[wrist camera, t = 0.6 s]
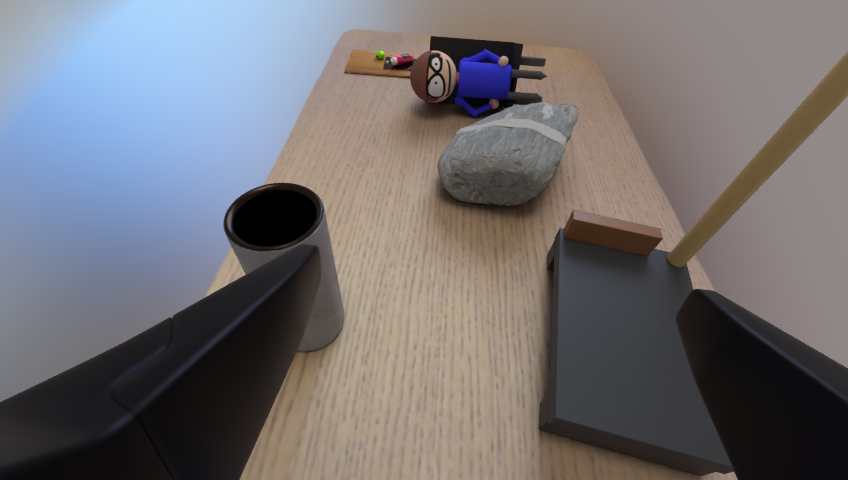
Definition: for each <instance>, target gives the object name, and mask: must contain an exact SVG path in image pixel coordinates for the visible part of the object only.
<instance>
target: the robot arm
mask: <svg viewBox="0 0 848 480" xmlns="http://www.w3.org/2000/svg"><path fill="white" fill-rule="evenodd" d="M321 274H322V272H321V259H320V250H319V247H318V246H317V245H310V244H300V245H298V246H296V247H294V248H293V249H291V250H289V251H287V252H286V253H284V254H282V255H280V256H278V257H277V258H275V259H273V260H271V261H269V262H268V263H266V264H264V265H262V266H261V267H259V268H257V269H255V270H253V271H252V272H250V273H248V274H246V275H245V276H243V277H241V278H239V279H237V280H236V281H234V282H232V283H230V284H228V285H227V286H225V287H223V288H221V289H220V290H218V291H216V292H214V293H212V294H211V295H209V296H207V297H205V298H204V299H202V300H200V301H198V302H196V303H195V304H193V305H191V306H189V307H187V308H186V309H184V310H182V311H180V312H179V313H177V314H175V315H174V316H173V318H168V319H166V320H164V321H162V322H161V323H159V324H157V325H155V326H153V327H152V328H150V329H148V330H146V331H144V332H142V333H140V334H139V335H137V336H135V337H133V338H131V339H129V340H127V341H126V342H124V343H122V344H120V345H118V346H116V347H114V348H112V349H110V350H108V351H106V352H104V353H102V354H100V355H98V356H96V357H94V358H92V359H90V360H87V361H85V362H83V363H81V364H79V365H77V366H75V367H73V368H71V369H69V370H67V371H65V372H62V373H60V374H58V375H56V376H54V377H52V378H50V379H48V380H46V381H44V382H42V383H39V384H38V385H35V386H33V387H31V388H29V389H27V390H25V391H23V392H21V393H19V394H17V395H14V396H12V397H10V398H8V399H6V400H4V401H2V402H0V480H239V479H240V477H241V475H242V472H243V470H244V468H245V466H246V463H247V461H248V459H249V457H250V455H251V452H252V450H253V448H254V446H255V443H256V441H257V439H258V437H259V434H260V432H261V430H262V428H263V426H264V423H265V421H266V419H267V417H268V414H269V412H270V410H271V408H272V405H273V403H274V401H275V399H276V396H277V394H278V392H279V390H280V388H281V385H282V383H283V381H284V379H285V376H286V374H287V372H288V370H289V367H290V365H291V363H292V361H293V359H294V356H295V354H296V352H297V350H298V347H299V345H300V343H301V340H302V338H303V336H304V333H305V330H306V327H307V324H308V320H309V317H310V314H311V311H312V307H313V304H314V301H315V298H316V294H317V291H318V288H319V285H320V281H321ZM676 324H677V328H678V331H679V334H680V337H681V340H682V343H683V346H684V350H685V353H686V356H687V359H688V362H689V365H690V368H691V372H692V374H693V377H694V380H695V383H696V385H697V388H698V390H699V392H700V395H701V397H702V399H703V402H704V404H705V406H706V408H707V411H708V413H709V415H710V417H711V420H712V422H713V424H714V427H715V429H716V431H717V433H718V436H719V438H720V440H721V443H722V445H723V447H724V449H725V452H726V454H727V456H728V459H729V461H730V463H731V465H732V468H733V470H734V472H735V474H736V477H737V479H738V480H848V368H846V367H844V366H843V365H841V364H839V363H837V362H836V361H834V360H832V359H831V358H829V357H827V356H825V355H824V354H822V353H820V352H818V351H817V350H815V349H813V348H811V347H810V346H808V345H806V344H805V343H803V342H801V341H800V340H798V339H796V338H794V337H793V336H791V335H789V334H787V333H786V332H784V331H782V330H781V329H779V328H777V327H775V326H774V325H772V324H770V323H768V322H767V321H765V320H763V319H761V318H760V317H758V316H756V315H755V314H753V313H751V312H750V311H748V310H746V309H744V308H743V307H741V306H739V305H737V304H736V303H734V302H732V301H731V300H729V299H727V298H725V297H724V296H722V295H720V294H718V293H717V292H715V291H711V290H702V289H695V290H693V291H691V292H690V293H689V295H688V297H687V298H686V300H685V301H684V303H683V304H682V306H681V308H680V309H679V311H678V313H677V315H676Z"/></svg>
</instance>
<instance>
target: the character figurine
mask: <svg viewBox="0 0 848 480" xmlns="http://www.w3.org/2000/svg"><path fill="white" fill-rule="evenodd" d="M522 49H523V44H518V43H513V42H500V41H487V40H474V39H461V38H448V37H435V36H431V41H430V51H428V52H425V53H423V54H422V55H420V56H419V57H418V58H417V59H416V61H415V62H414V64H413V66H412V69H411V74H410V80H411V85H412V88H413V90H414V92H415V93H416V95H417V96H418V97H419V98H421V99H422V100H424V101H427V102H431V103H436V102H453V103H456V105H461V106H462V107H464V108H465V109H466V110H467V111H468V112H469V113H470V114H471V115H472V116H473V117H475V116H477V115H479V114H481V113H483V112H485V111H487V110H489V109H491V108H493V109H495V108H497V107H498V106H503V107H504V108H508V107H512V106H513V104H517V105H528V104H531V103H541V101H542V97H541V96H539V95H538V94H537V93H535V94H534V93H520V92H515V89H516V83H517V78H527V79H539V80H541V79H543V78H545V77H547V76H546V75H545V74H543V73H542V72H541V71H527V70H519V66H520V65H528V66H545V61H546V59H544V58H537V57H525V56H521V54H522ZM469 104H481V105H483V106H481V107H479V108H477V109H474V108H473V107H472V106H471V105H469Z"/></svg>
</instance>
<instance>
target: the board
mask: <svg viewBox="0 0 848 480" xmlns="http://www.w3.org/2000/svg"><path fill="white" fill-rule="evenodd" d="M419 56H420V55H411V54H395V53H384V51H378V52H370V51H358V50H353V51H352V53H351V56H350V58H349V61H348V64H347V66H346V69H345V73H356V74H369V75H381V76H394V77H407V78H410V74H411V69H412V66H413V64H414V62H415V61H416V59H417V58H418V57H419Z"/></svg>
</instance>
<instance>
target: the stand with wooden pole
mask: <svg viewBox="0 0 848 480" xmlns="http://www.w3.org/2000/svg"><path fill="white" fill-rule="evenodd" d="M847 96H848V51H847V52H846V54H845V55H844V56H843V57H842V58H841V59H840V60H839V62H838V63H837V64H836V65H835V66H834V67H833V68H832V70H831V71H830V72H829V73H828V74H827V75H826V76H825V77H824V79H823V80H822V81H821V82H820V83H819V84H818V86H817V87H816V88H815V89H814V90H813V91H812V93H810V94H809V96H808V97H807V98H806V99H805V100H804V101H803V102H802V104H801V105H800V106H799V107H798V108H797V109H796V111H794V113H793V114H792V115H791V116H790V117H789V118H788V119H787V121H786V122H785V123H784V124H783V125H782V126H781V128H780V129H779V130H778V131H777V132H776V133H775V134H774V135H773V136H772V138H771V139H770V140H769V141H768V142H767V143H766V144H765V146H764V147H763V148H762V149H761V150H760V151H759V152H758V154H757V155H756V156H755V157H754V158H753V159H752V160H751V162H750V163H749V164H748V165H747V166H746V167H745V168H744V169H743V170H742V172H741V173H740V174H739V175H738V176H737V177H736V179H735V180H734V181H733V182H732V183H731V184H730V185H729V186H728V188H727V189H726V190H725V191H724V192H723V193H722V194H721V195H720V197H719V198H718V199H717V200H716V201H715V202H714V204H713V205H712V206H711V207H710V208H709V209H708V210H707V211H706V212H705V214H704V215H703V216H702V217H701V218H700V219H699V221H698V222H697V223H696V224H695V225H694V226H693V227H692V228H691V230H690V231H689V232H688V233H687V234H686V235H685V236H684V237H683V239H682V240H681V241H680V242H679V243H678V244H677V245H676V247H675V248H674V249H673V250H672V251H671V252H666V251H662V250H657V249H655V247H656V246H657V245H658V244H659V242H660V241H661V240H662V239H663V238H662V233H661V229H660V228H655V227H651V226H646V225H641V224H637V223H632V222H627V221H623V220H618V219H614V218H609V217H604V216H600V215H595V214H590V213H586V212H581V211H576V210H573V212H572V214H571V216H570V218H569V220H568V222H567V224H566V226H565V228H564V229H562V228H560V229H559V231H558V233H557V235H556V237H555V241H554V243H553V245H552V247H551V249H550V251H549V253H548V258H547V269H548V270H552V271H554V279H553V307H552V335H551V364H550V392H549V394H548V395H547V396H546V397H545V398H544V399H543V400H542V401H541V403H540V417H539V429H540V430H542V431H546V432H549V433H553V434H556V435H560V436H563V437H567V438H570V439H574V440H577V441H581V442H584V443H588V444H591V445H595V446H598V447H602V448H605V449H609V450H612V451H616V452H619V453H623V454H626V455H630V456H633V457H637V458H640V459H644V460H648V461H651V462H655V463H658V464H662V465H665V466H669V467H672V468H676V469H679V470H683V471H686V472H690V473H693V474H697V475H700V476H703V475H706V474H710V473H713V472H719V473H722V474H726V473H730V472H733V471H734V470H733V468H732V465H731V463H730V461H729V459H728V456H727V454H726V452H725V449H724V447H723V445H722V443H721V440H720V438H719V436H718V433H717V431H716V429H715V427H714V424H713V422H712V420H711V417H710V415H709V413H708V411H707V408H706V406H705V404H704V402H703V399H702V397H701V395H700V392H699V390H698V388H697V385H696V383H695V380H694V377H693V374H692V372H691V368H690V365H689V362H688V359H687V356H686V353H685V350H684V346H683V343H682V340H681V337H680V334H679V331H678V328H677V324H676V315H677V313H678V311H679V309H680V308H681V306H682V304H683V303H684V301H685V300H686V298H687V297H688V295H689V293H690V292H691V291H693V287H692V283H691V279H690V275H689V271H688V267H687V264H686V263H687V262H688V261H689V260H690V259H691V258H692V257H693V256H694V255H695V254H696V253H697V252H698V251H699V249H701V248H702V247H703V245H704V244H705V243H706V242H707V241H708V240H709V239H710V238H711V237H712V236H713V235H714V234H715V233H716V232H717V231H718V230H719V229H720V228H721V227H722V226H723V224H725V223H726V222H727V221H728V220H729V218H730V217H731V216H732V215H733V214H734V213H735V212H736V211H737V210H738V209H739V208H740V207H741V206H742V205H743V204H744V203H745V202H746V201H747V200H748V199H749V198H750V197H751V196H752V195H753V194H754V193H755V192H756V191H757V190H758V189H759V187H760V186H761V185H762V184H763V183H764V182H765V181H766V180H767V179H768V178H769V177H770V176H771V175H772V174H773V173H774V172H775V171H776V170H777V169H778V168H779V167H780V166H781V165H782V164H783V163H784V161H786V160H787V158H788V157H789V156H790V155H791V154H792V153H793V152H794V151H795V150H796V149H797V148H798V147H799V146H800V145H801V144H802V143H803V142H804V141H805V140H806V139H807V138H808V137H809V136H810V135H811V134H812V132H814V130H815V129H816V128H817V127H818V126H819V125H820V124H821V123H822V122H823V121H824V120H825V119H826V118H827V117H828V116H829V115H830V114H831V113H832V111H834V110H835V109H836V108H837V107H838V106H839V105H840V104H841V103H842V102H843V100H844V99H845V98H846V97H847Z"/></svg>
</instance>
